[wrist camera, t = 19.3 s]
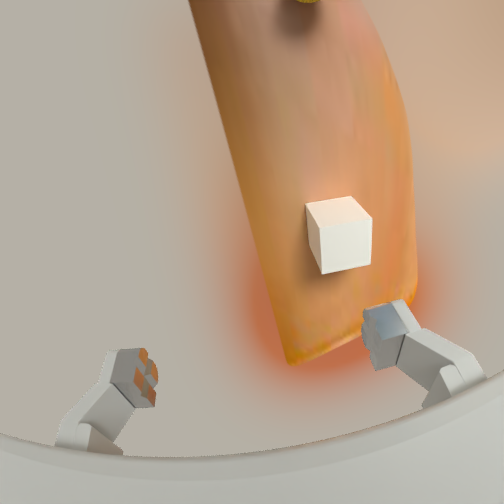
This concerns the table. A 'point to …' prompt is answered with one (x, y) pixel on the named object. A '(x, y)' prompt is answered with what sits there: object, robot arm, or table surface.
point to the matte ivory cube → (339, 234)
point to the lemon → (307, 1)
